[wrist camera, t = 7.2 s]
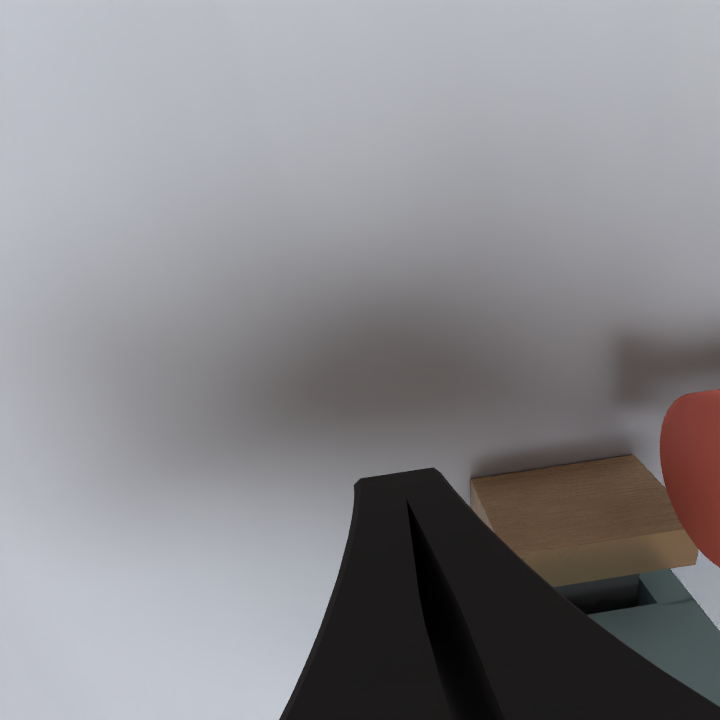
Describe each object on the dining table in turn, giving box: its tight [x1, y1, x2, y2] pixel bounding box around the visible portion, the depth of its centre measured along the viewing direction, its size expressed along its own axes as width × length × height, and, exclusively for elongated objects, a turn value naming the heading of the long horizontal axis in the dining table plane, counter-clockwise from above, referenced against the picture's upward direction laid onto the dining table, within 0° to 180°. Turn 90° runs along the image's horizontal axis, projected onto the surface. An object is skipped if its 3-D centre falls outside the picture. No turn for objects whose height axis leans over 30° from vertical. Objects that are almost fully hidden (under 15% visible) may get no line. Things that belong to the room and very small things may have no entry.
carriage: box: [587, 569, 720, 706], centre depth 13 cm, size 5×5×5 cm
